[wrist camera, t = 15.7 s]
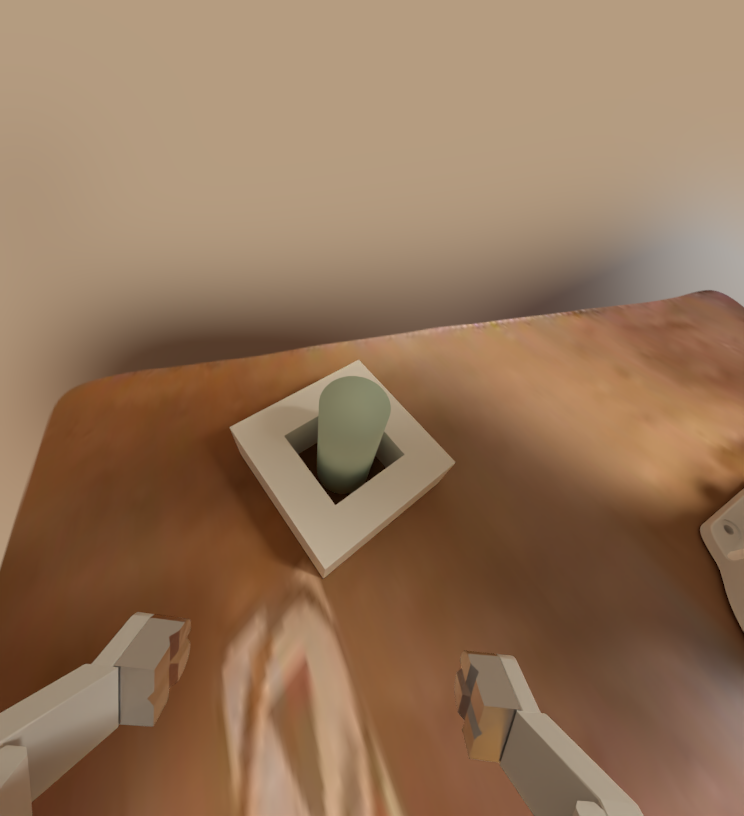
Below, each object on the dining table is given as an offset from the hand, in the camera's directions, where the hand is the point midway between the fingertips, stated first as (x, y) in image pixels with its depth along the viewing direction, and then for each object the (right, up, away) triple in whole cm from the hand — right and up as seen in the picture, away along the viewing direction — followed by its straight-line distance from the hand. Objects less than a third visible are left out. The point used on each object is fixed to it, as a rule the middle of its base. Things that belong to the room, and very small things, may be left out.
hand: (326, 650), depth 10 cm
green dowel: (-1, +2, +19) cm, 19 cm away
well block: (-1, +2, +19) cm, 19 cm away
